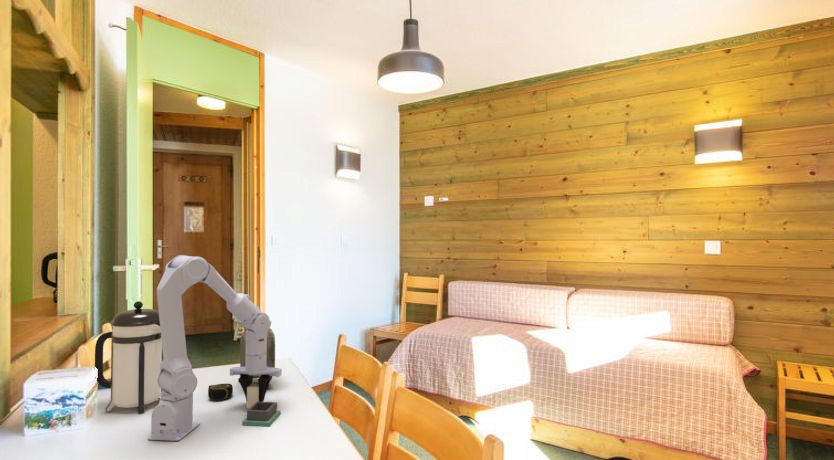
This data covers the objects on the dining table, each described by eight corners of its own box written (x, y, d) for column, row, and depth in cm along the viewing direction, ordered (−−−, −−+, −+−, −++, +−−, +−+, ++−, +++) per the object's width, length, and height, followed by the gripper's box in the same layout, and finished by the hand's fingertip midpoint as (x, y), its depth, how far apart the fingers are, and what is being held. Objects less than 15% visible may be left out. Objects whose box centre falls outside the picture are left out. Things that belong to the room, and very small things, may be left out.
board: (269, 426, 115) (269, 412, 115) (242, 425, 116) (242, 411, 116) (280, 413, 123) (280, 401, 123) (255, 412, 124) (255, 400, 124)
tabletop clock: (274, 390, 141) (275, 311, 142) (244, 394, 137) (245, 313, 137) (267, 377, 154) (268, 304, 154) (239, 380, 150) (240, 306, 150)
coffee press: (162, 391, 139) (163, 295, 139) (170, 408, 126) (171, 302, 126) (94, 404, 129) (95, 300, 129) (94, 423, 116) (96, 308, 116)
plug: (257, 408, 126) (258, 385, 126) (246, 408, 127) (247, 384, 127) (263, 403, 130) (263, 380, 130) (252, 402, 130) (253, 380, 131)
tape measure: (232, 393, 139) (232, 381, 139) (232, 400, 133) (232, 388, 133) (208, 395, 137) (208, 383, 137) (207, 403, 130) (207, 391, 130)
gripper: (285, 350, 132) (285, 396, 132) (238, 349, 133) (237, 394, 133) (276, 357, 125) (276, 405, 125) (226, 355, 126) (225, 403, 126)
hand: (255, 400), depth 128 cm, fingers closed on plug, 3 cm apart
